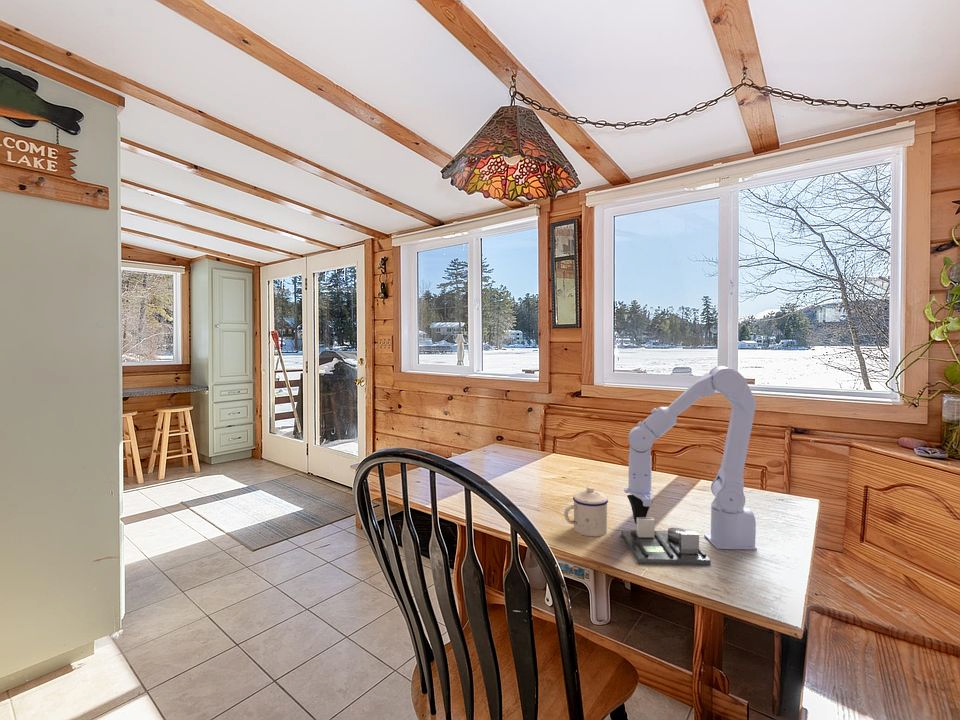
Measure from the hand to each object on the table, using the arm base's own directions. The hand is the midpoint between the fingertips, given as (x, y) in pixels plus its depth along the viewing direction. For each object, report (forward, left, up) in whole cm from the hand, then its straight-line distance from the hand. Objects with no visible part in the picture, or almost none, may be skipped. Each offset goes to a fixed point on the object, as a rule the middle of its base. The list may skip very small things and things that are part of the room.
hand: (639, 523), depth 125 cm
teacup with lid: (+14, -1, -3) cm, 14 cm away
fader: (0, +5, -1) cm, 5 cm away
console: (-3, +9, -2) cm, 10 cm away
